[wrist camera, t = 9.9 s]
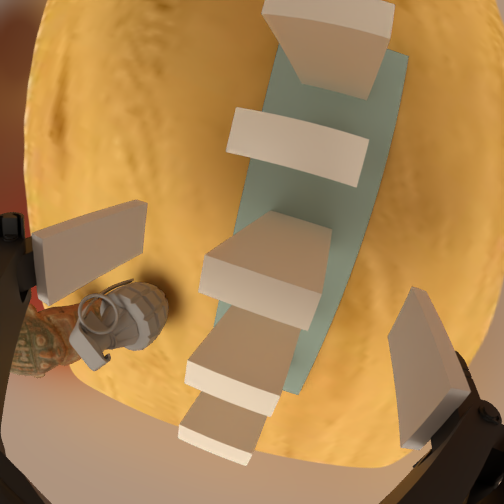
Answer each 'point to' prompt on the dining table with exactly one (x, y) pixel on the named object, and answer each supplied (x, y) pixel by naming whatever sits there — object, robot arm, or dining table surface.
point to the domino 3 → (271, 268)
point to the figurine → (47, 339)
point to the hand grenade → (119, 321)
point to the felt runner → (324, 183)
